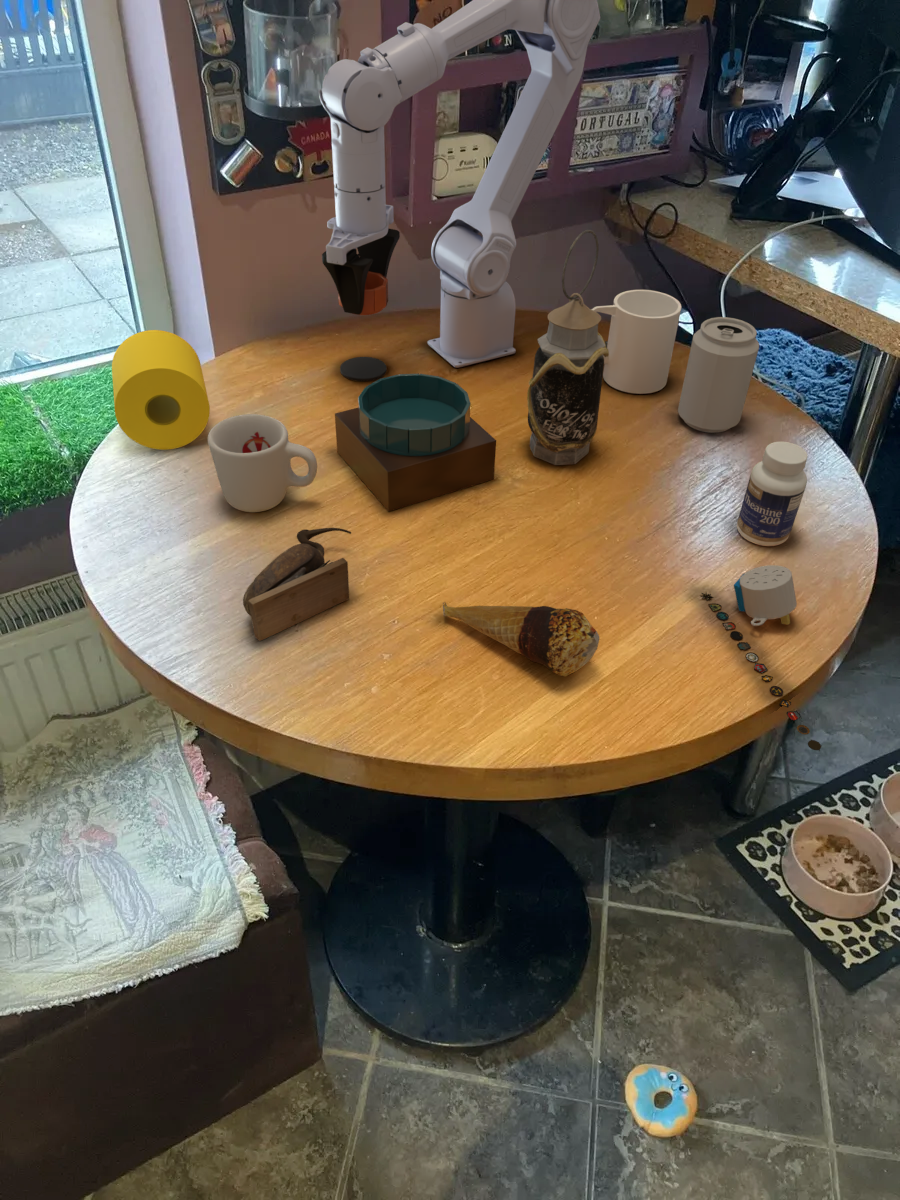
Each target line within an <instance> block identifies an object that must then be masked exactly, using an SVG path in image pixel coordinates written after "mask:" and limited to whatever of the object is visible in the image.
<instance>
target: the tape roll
mask: <svg viewBox="0 0 900 1200" xmlns="http://www.w3.org/2000/svg"><path fill="white" fill-rule="evenodd" d="M200 360H201V359H200V358H199V355H198V353H197V352H196V350H195V349H194V348H193V346H192V345H191V344H190V343H189V342H188V341H187V340H185V338H182V337H181V336H180V335H178V334H175V333H173V332H170V331H167V330H160V329H148V330H142V331H139V332H137V333H134V334H132V335H130V336H128V337H127V338H125V340H123V341H122V343H120V344H119V346H118V347H117V348H116V350H115V352H114V354H113V358H112V360H111V376H112V391H113V405H114V416H115V419H116V422H117V424H118V426H119V427H120V429H121V430H122V432H123V433H124V434H125V435H126V436H127V437H128V438H129V439H130V440H132V441H134V443H137V445H139V446H140V445H141V446H142V447H144V448H145V447H146V448H149V449H153V450H161V451H162V450H163V451H168V450H174V449H178V448H179V449H180V448H182V447H185V446H187V445H188V444H190V443H192V442H194V441H195V440H196V439H198V438H199V436H200V435H201V434H202V433H203V432H204V430H205V428H206V427H207V425H208V422H209V419H210V414H211V413H210V412H211V409H210V408H211V406H210V402H209V397H208V392H207V388H206V383H205V378H204V373H203V369H202V364H201V361H200Z"/></svg>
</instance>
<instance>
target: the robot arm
mask: <svg viewBox="0 0 900 1200" xmlns="http://www.w3.org/2000/svg"><path fill="white" fill-rule="evenodd" d="M600 20H601V13H600V8H599V3H598V0H471V1H470V2H469V3H467V4H465V5H463V6H462V7H460V8H459V9H458V10H457V11H455V12H454V13H451V15H449V16H448V17H446V18H445V19H443V20H442V21H440V22H439V23H438V24H436V25H435V26H433V27H429V26H427V25H425V24H424V23H420V22H417V23H414V24H412V23H410V22H407V21H405V22H404V23H402V24H400V25H398V26H397V27H396V30H397V34H395V35H393V36H392V37H390V38H389V39H387V40H386V41H384V42H381V43H380V44H379V45H376V46H375V47H374V48H370V47H365V48H364V49H362V50H360V52H359V55H360V56H359V57H358V59H357V61H356V60H354V59H348V58H345V59H340V60H338V61H336V62H335V63H333V64H332V65H331V66H330V67H329V68H328V70H327V73H326V74H324V78H323V82H322V85H321V86H322V87H321V88H320V89H318V97H319V101H320V103H321V106H322V107H323V109H324V111H326V112H327V114H328V116H329V119H330V134H331V157H332V171H333V172H332V173H333V175H332V176H333V190H334V191H333V192H334V207H335V209H334V211H335V217H331V218H330V219H329V220H327V221H326V226H327V229H329V230H332V233H331V238H330V240H329V242H328V243H327V244H326V245H325V251H324V252H323V253H321V262H322V264H323V266H324V267H325V269H326V270H327V272H328V273H329V275H330V276H331V278H332V280H333V282H334V286H335V289H336V290H337V295H338V294H339V297H340V300H341V303H342V307H343V308H342V307H341V308H342V309H343V312H344V313H348V314H351V313H352V315H356V314H357V315H356V316H361V315H360V314H361V313H362V310H363V305H364V293H365V283H366V278H367V274H368V271H370V272H375V273H380V274H382V275H383V276H384V277H386V278H387V277H388V272H389V267H390V262H391V259H392V256H393V253H394V250H395V248H396V246H397V244H398V241H399V240H400V239H401V234H400V233H401V232H400V231H399V230H398V229H395V228H389V227H390V225H392V224H393V223H394V222H395V220H394V219H395V218H394V217H395V214H394V209H395V208H394V205H390V204H387V198H386V195H387V194H386V151H385V147H386V145H385V126H386V124H387V123H388V122H389V121H390V119H391V117H392V115H393V113H394V111H395V108H396V107H397V106H398V105H399V104H401V103H403V102H405V101H406V100H408V99H409V98H412V97H413V96H415V95H416V94H417V93H419V92H421V91H422V90H424V89H426V88H428V87H430V86H431V85H433V84H434V83H436V82H438V81H439V80H441V79H442V78H443V76H444V74H445V70H446V67H447V62H448V61H449V60H452V59H453V58H455V57H457V56H459V55H461V54H463V53H465V52H466V51H469V50H471V49H473V48H474V47H476V46H478V45H480V44H482V43H484V42H486V41H488V40H490V39H492V38H493V37H495V36H497V35H500V34H501V33H503V32H506V31H507V30H514V31H515V32H516V34H517V35H518V37H519V39H520V41H521V43H522V44H523V46H524V48H525V49H526V52H527V57H528V60H529V64H530V67H531V71H530V73H529V76H528V78H527V80H526V83H525V84H524V87H523V89H522V91H521V94H520V95H519V98H518V100H517V102H516V104H515V106H514V108H513V110H512V112H511V114H510V117H509V119H508V121H507V123H506V125H505V128H504V129H503V132H502V134H501V136H500V138H499V140H498V142H497V144H496V146H495V149H494V151H493V154H492V155H491V157H490V160H489V162H488V163H487V166H486V168H485V170H484V172H483V174H482V177H481V179H480V181H479V183H478V185H477V187H476V189H475V192H474V194H473V196H472V198H471V200H469V201H467V202H466V203H464V204H462V205H460V206H458V207H456V208H455V209H454V210H453V211H452V214H451V216H450V218H449V220H448V221H447V222H446V224H445V225H443V227H441V228H440V229H439V230H438V232H437V233H436V234H435V236H434V238H433V240H432V244H431V248H430V255H431V260H432V262H433V264H434V265H435V267H436V268H437V269H438V270H439V280H440V312H439V313H440V314H439V315H440V316H439V317H440V318H439V337H437V338H433V339H429V340H427V341H426V343H427V344H426V345H428V346H429V347H430V348H431V349H432V350H434V351H435V352H436V353H437V354H438V355H439V356H441V357H442V358H443V359H444V360H445V361H446V362H448V363H449V365H451V366H452V367H453V368H456V369H457V368H462V367H467V366H471V365H475V364H478V363H482V362H483V363H484V362H486V361H490V360H495V359H498V358H503V357H505V356H506V357H507V356H510V355H514V354H516V352H517V351H516V348H515V347H514V336H515V320H516V297H515V294H514V291H513V288H512V286H511V285H510V284H509V282H508V281H506V280H507V279H508V276H509V273H510V269H511V260H512V256H513V254H514V251H515V249H516V248H517V240H516V236H515V231H514V229H513V224H512V221H513V219H514V217H515V215H516V213H517V211H518V209H519V206H520V204H521V202H522V200H523V198H524V196H525V194H526V192H527V190H528V188H529V186H530V184H531V181H532V180H533V178H534V176H535V173H536V171H537V170H538V167H539V166H540V163H541V161H542V159H543V157H544V155H545V153H546V151H547V148H548V147H549V144H550V143H551V141H552V138H553V136H554V134H555V132H556V130H557V128H558V126H559V125H560V122H561V120H562V118H563V116H564V114H565V112H566V110H567V108H568V105H569V103H570V101H571V99H572V97H573V96H574V93H575V91H576V89H577V87H578V85H579V83H580V81H581V78H582V75H583V71H584V67H585V61H586V55H587V51H588V46H589V43H590V41H591V39H592V36H593V34H594V33H595V31H596V28H597V27H598V25H599V22H600Z"/></svg>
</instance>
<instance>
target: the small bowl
mask: <svg viewBox="0 0 900 1200" xmlns="http://www.w3.org/2000/svg"><path fill="white" fill-rule="evenodd" d="M337 301H338V305H339V306H340V307H341V308H342V309H343V307H342V303H341V300H340V297H339V294H338V293H337ZM388 303H389V280H388V278H387V277H384V276H383V275H382V274H380V273H375V272H370V271H368V274H367V278H366V283H365V293H364V305H363V310H362V313H361V314H360V315H359V316H370V315H376V314H378V313H380V312H382V311H383V310H384V309H385V308H387V306H388ZM350 314H352V313H350ZM352 315H353V314H352ZM355 315H356V316H358V315H357V314H355Z"/></svg>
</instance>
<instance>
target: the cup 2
mask: <svg viewBox="0 0 900 1200" xmlns="http://www.w3.org/2000/svg"><path fill="white" fill-rule="evenodd" d="M590 309H591V310H593V311H595V312H597V313H601V314H605V315H610V316H611V317H610V324H609V331H608V338H607V341H608V343H607V349H608V351H609V355H608V357H605V356H604V355H603V357H604V368H603V377H602V379H603V380H604V382H605V383H606V384H607V385H608V386H610V387H612V388H613V389H615V390H618V391H620V392H624V393H628V394H637V395H638V394H639V395H643V394H652V393H656V392H658V391H661V390H663V388H665V387H666V385H667V382H668V377H669V374H670V367H671V363H672V356H673V352H674V348H675V341H676V336H677V331H678V328H679V321H680V318H681V317H680V316H681V311H682V304H681V302H680V301H679V300H678V299H677V298H675V297H674V296H672V295H670V294H668V293H664V292H662V291H661V292H660V291H657V290H653V289H652V290H651V289H631V290H626V291H623V292H620V293H618V294H617V295H616V296H614V299H613V303H612V305H598V306H594V307H592V308H590Z"/></svg>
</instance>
